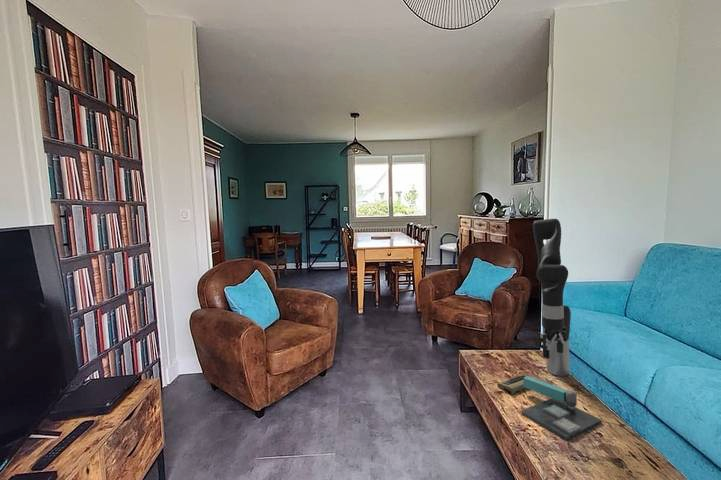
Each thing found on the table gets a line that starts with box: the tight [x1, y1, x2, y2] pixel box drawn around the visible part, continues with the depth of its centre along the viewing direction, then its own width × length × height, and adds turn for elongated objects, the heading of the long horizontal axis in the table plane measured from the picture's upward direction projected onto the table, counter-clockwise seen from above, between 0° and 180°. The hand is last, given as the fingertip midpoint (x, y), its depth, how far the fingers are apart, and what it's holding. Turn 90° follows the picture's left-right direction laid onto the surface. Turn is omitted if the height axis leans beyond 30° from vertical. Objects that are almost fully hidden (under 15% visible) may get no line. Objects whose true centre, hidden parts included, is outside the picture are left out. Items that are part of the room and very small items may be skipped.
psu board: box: [520, 398, 603, 442], centre depth 126 cm, size 20×18×3 cm
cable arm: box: [524, 375, 578, 407], centre depth 137 cm, size 20×4×4 cm, turn 37°
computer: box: [496, 374, 528, 395], centre depth 151 cm, size 16×8×3 cm, turn 117°
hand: (553, 355), depth 132 cm, fingers open, 8 cm apart
